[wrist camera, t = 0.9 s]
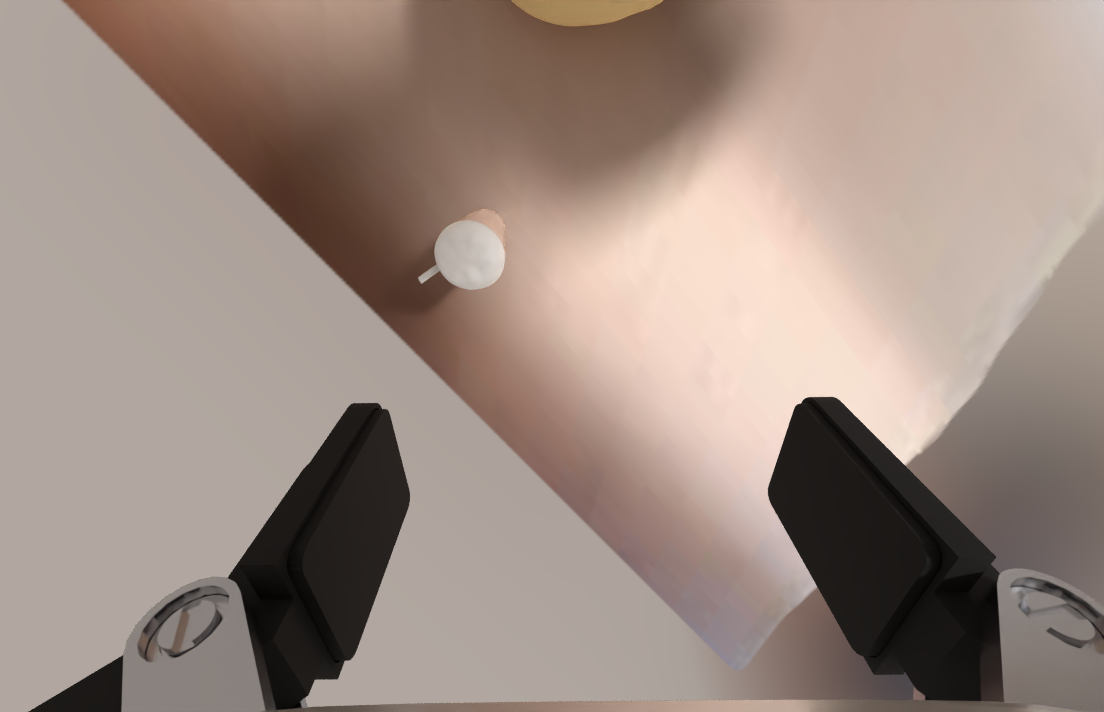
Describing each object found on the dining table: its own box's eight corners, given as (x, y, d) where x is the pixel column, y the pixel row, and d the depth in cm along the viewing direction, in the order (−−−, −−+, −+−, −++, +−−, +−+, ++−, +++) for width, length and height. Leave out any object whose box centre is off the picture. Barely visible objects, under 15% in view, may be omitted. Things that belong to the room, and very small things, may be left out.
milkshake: (439, 213, 34) (401, 245, 25) (501, 191, 33) (485, 217, 25) (462, 266, 36) (434, 312, 27) (521, 246, 35) (512, 288, 27)
